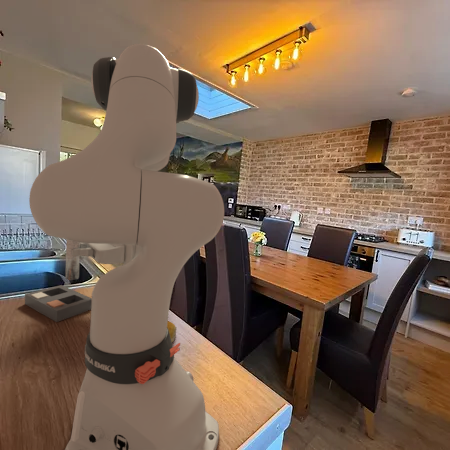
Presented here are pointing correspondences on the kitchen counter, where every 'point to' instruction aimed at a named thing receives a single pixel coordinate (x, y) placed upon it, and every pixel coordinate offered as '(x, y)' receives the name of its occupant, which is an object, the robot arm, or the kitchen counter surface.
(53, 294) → the socket board
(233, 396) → the kitchen counter surface
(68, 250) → the metal plug
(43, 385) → the kitchen counter surface
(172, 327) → the bread roll
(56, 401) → the kitchen counter surface
